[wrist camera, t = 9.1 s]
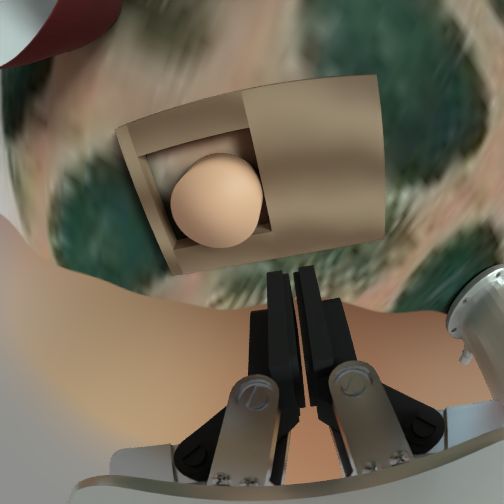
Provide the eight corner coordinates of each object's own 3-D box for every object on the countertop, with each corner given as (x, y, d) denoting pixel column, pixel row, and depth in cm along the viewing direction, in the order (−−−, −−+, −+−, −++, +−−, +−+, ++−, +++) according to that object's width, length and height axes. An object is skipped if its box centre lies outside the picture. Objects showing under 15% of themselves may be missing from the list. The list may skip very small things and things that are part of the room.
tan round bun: (271, 219, 22) (268, 242, 20) (199, 230, 24) (188, 252, 22) (252, 144, 19) (245, 158, 17) (173, 164, 21) (157, 179, 18)
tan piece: (378, 229, 24) (384, 239, 22) (176, 265, 26) (172, 275, 25) (368, 74, 17) (376, 74, 15) (122, 125, 19) (114, 129, 17)
